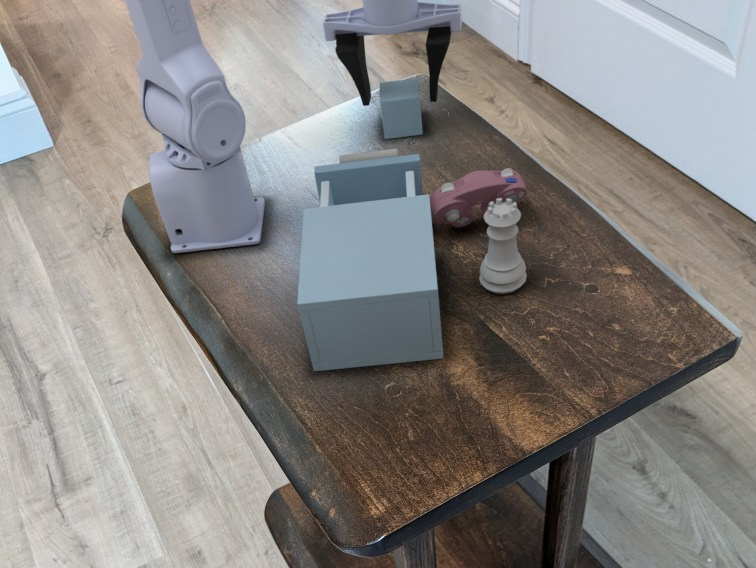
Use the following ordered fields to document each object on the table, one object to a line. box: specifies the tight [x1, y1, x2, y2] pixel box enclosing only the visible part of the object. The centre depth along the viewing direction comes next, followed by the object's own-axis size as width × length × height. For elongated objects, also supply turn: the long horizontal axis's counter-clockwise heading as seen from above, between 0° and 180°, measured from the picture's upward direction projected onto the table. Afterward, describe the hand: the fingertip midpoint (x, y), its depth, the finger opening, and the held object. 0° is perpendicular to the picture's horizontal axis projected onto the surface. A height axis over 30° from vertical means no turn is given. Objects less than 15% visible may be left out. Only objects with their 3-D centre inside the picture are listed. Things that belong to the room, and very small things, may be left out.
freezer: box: [296, 193, 444, 372], centre depth 77 cm, size 14×12×8 cm
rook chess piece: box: [478, 198, 528, 295], centre depth 78 cm, size 4×4×8 cm
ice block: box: [379, 77, 424, 140], centre depth 99 cm, size 4×4×4 cm
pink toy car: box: [429, 167, 528, 228], centre depth 85 cm, size 10×5×7 cm, turn 104°
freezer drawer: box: [313, 148, 424, 207], centre depth 84 cm, size 17×10×6 cm, turn 1°
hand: (400, 99), depth 98 cm, fingers open, 7 cm apart
